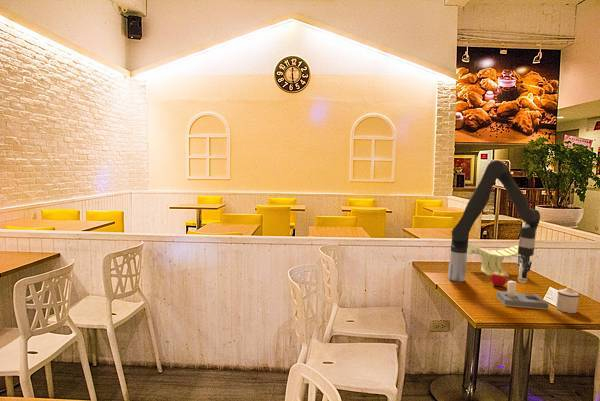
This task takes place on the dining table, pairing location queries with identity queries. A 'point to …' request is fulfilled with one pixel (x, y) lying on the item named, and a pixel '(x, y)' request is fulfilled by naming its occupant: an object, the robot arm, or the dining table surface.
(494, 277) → the apple
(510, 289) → the jaw
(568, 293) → the teacup with lid
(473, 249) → the slatted curved stool
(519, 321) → the dining table surface
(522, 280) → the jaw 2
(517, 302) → the housing
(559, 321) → the dining table surface
